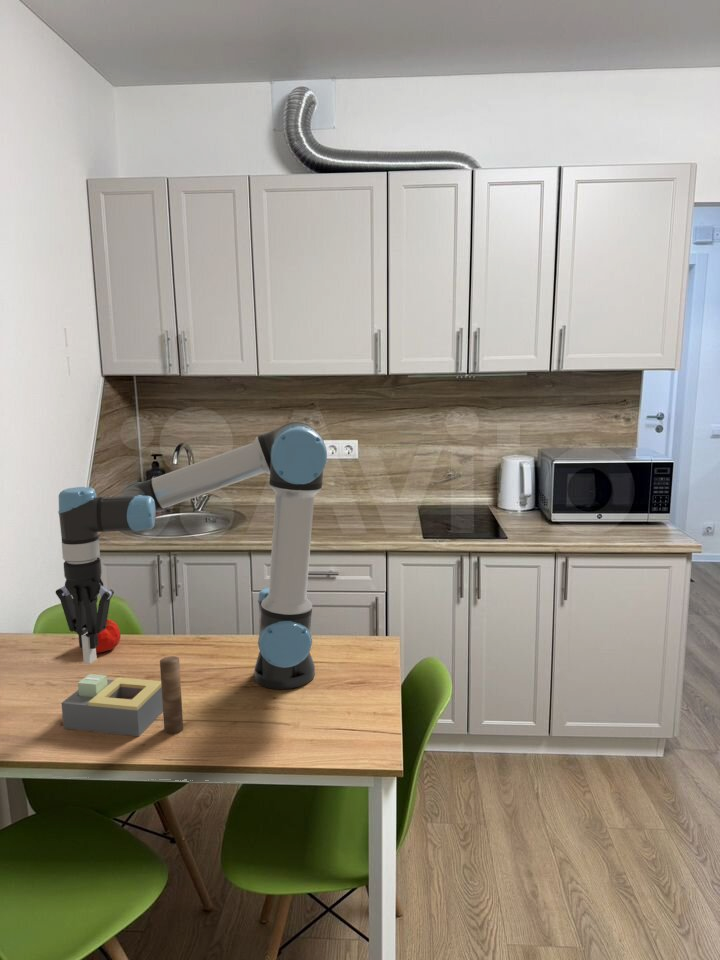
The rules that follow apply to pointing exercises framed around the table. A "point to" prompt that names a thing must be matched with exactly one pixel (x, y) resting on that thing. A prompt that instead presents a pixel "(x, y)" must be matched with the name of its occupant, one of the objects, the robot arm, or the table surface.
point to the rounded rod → (171, 695)
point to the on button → (92, 685)
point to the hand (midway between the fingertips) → (90, 661)
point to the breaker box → (115, 707)
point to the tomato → (108, 637)
